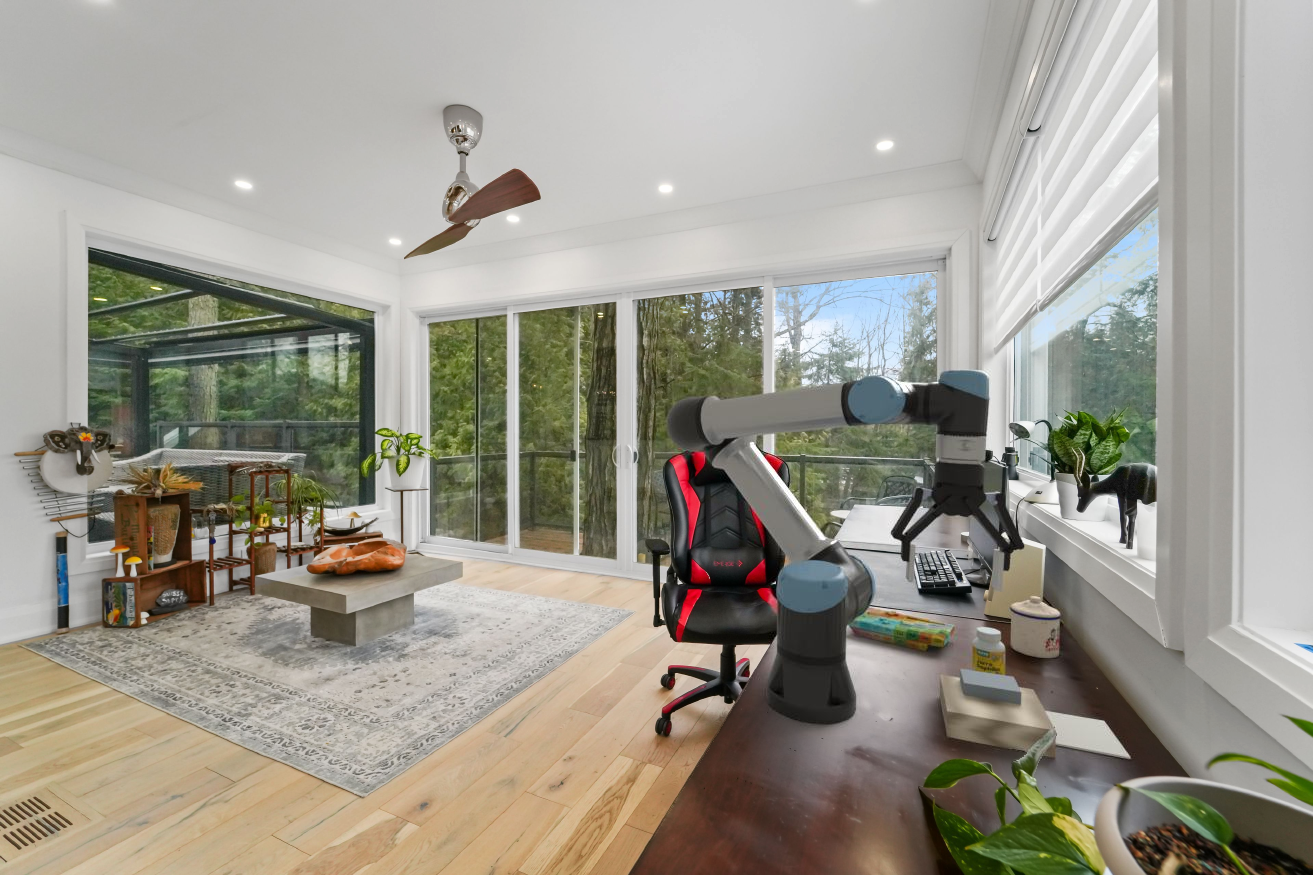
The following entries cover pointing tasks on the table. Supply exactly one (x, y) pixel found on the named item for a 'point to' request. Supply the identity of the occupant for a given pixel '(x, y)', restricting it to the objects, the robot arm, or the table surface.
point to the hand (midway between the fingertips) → (952, 584)
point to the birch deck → (994, 718)
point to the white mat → (1086, 735)
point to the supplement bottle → (988, 651)
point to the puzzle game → (901, 629)
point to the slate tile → (990, 686)
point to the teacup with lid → (1035, 628)
